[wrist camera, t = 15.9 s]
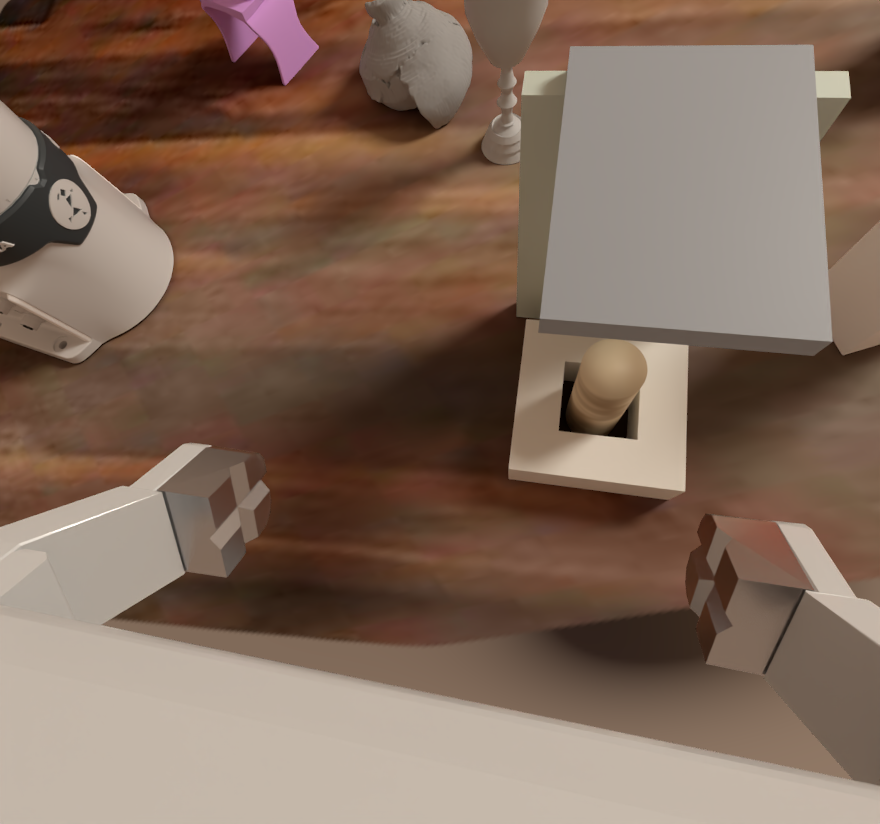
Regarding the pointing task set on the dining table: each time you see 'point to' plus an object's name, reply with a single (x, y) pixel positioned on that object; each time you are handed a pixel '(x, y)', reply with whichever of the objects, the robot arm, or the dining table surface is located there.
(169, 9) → the dining table surface
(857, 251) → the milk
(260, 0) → the toy chair
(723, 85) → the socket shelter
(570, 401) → the peg
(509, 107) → the chalice
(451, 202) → the dining table surface
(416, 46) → the grey conch shell
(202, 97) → the dining table surface
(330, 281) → the dining table surface
